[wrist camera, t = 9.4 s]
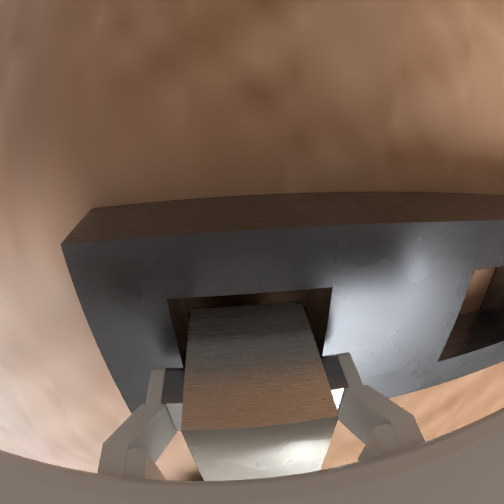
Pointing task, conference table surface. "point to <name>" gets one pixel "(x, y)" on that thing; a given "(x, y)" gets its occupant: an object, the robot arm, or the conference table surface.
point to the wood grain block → (255, 393)
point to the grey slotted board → (299, 278)
